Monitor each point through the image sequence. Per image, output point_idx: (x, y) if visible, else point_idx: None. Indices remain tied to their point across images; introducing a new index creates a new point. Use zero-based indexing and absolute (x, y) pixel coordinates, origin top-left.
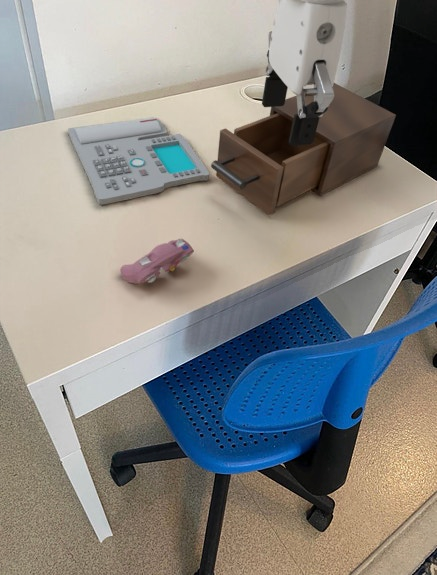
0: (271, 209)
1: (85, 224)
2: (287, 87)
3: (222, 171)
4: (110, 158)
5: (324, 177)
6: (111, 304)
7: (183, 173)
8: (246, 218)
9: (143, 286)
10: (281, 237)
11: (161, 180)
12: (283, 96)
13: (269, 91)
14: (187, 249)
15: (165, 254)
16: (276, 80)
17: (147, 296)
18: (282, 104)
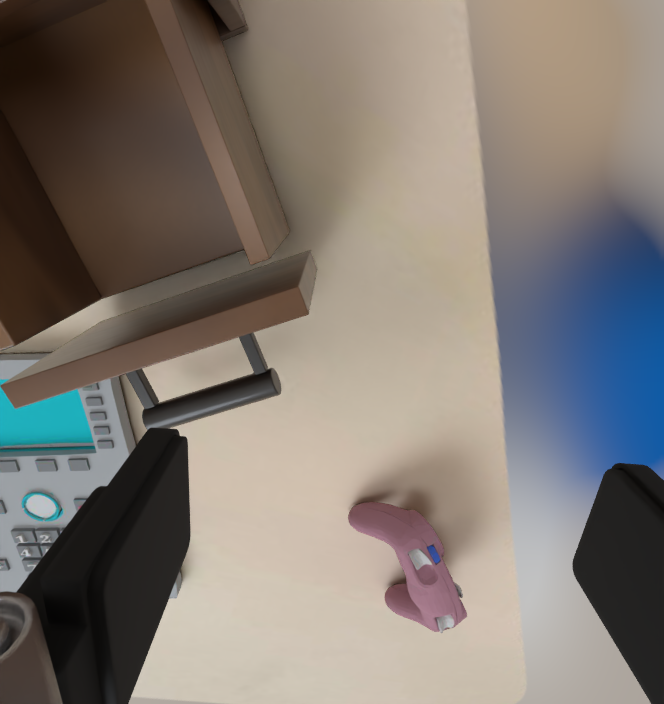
0: (314, 268)
1: (233, 611)
2: (137, 523)
3: (200, 418)
4: (24, 555)
5: (227, 5)
6: None
7: (97, 421)
8: (294, 319)
9: None
10: (393, 262)
11: None
12: (163, 486)
13: (153, 616)
14: (438, 549)
15: (450, 600)
16: (114, 670)
17: (450, 567)
18: (185, 449)
